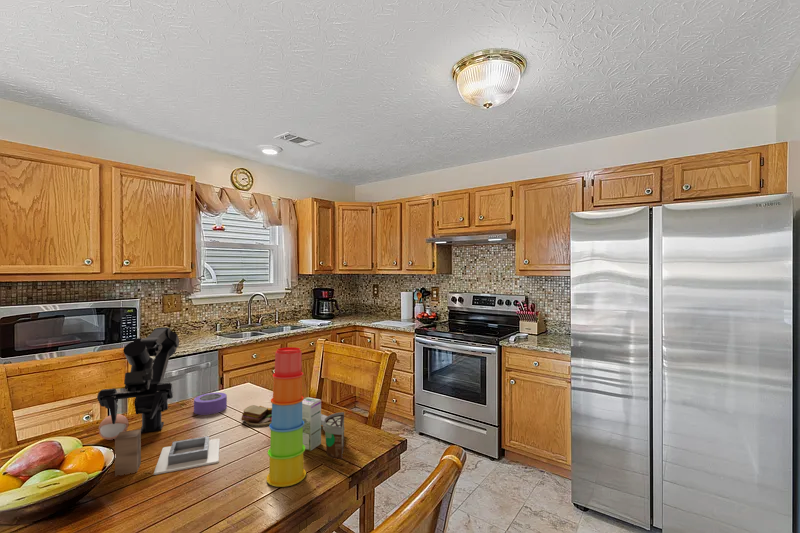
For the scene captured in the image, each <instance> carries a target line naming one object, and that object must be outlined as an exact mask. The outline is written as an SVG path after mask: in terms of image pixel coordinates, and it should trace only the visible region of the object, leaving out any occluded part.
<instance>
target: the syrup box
mask: <svg viewBox="0 0 800 533" xmlns="http://www.w3.org/2000/svg"><path fill="white" fill-rule="evenodd" d="M321 414H322V399H319V398H314V397H306V396H305V397H304V400H303V401H302V420H303V421H304V426H303V445H304V446H305V451H306V450H307V451H309V452H311V451H313V450H314V449H316V448H317V447H319V446H320V445H321V444H322V425H321Z"/></svg>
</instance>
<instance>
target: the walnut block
mask: <svg viewBox="0 0 800 533" xmlns="http://www.w3.org/2000/svg"><path fill="white" fill-rule="evenodd" d="M141 439H142V433H141V428H139V429H133V430H126V431H125V432H120V433H119V434H118V436H117V437H116V439H114V455H115V454H116V459H115V458H114V477H118V476H117V475H120V476H125V475H130V473H131V474H134V473H135V472H136V473H138V471H139V468H140V466H141V464H142V463H141V462H142V461H141V460H142V456H141V455H142V451H141V450H142V447H141V446H142V443H141V442H142V440H141ZM136 473H135V474H136ZM124 474H125V475H124Z"/></svg>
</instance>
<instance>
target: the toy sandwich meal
mask: <svg viewBox="0 0 800 533" xmlns="http://www.w3.org/2000/svg"><path fill="white" fill-rule="evenodd" d="M240 420H241V421H243V422H244V421H245V423H246V424H248V425H249V426H251V427H266V426H269V425H270V424H271V423H272V407H266V406H262V405H259V406H258V405H255V404H252V405H249V406H247V407H245V408H244V409H243V413H242V415H241V418H240Z"/></svg>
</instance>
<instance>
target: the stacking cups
mask: <svg viewBox="0 0 800 533" xmlns="http://www.w3.org/2000/svg"><path fill="white" fill-rule="evenodd" d="M302 355H303V353H302V350H301V348H300V347H295V346H294V347H293V346H290V347H288V346H287V347H280V348H277V349H276V351H275V354H274V373H272V377H273V386H272V388H273V390H272V398H270V403H271V408H272V423H271V424H270V425H268V428H269V430H270V440H269V441H270V442H269V444H270V447H269V449H267V450H268V451H267V455H268V457H269V470H268V471H269V472H268V474H267V476H266V482H267V484H269V485H270V486H272V487H276V488H283V487H284V488H286V487H290V486H294V485H296V484H299V483H300V482H302V481H303V480H304V479H305V477H306V474H307V471H306V470H305V468H304V452H305V451H306V449H305V446H304V445H303V426H304V421H303V420H302V401H303V400H304V398H305V397H304V396H303V376H304V372H302V366H303V364H302Z"/></svg>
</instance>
